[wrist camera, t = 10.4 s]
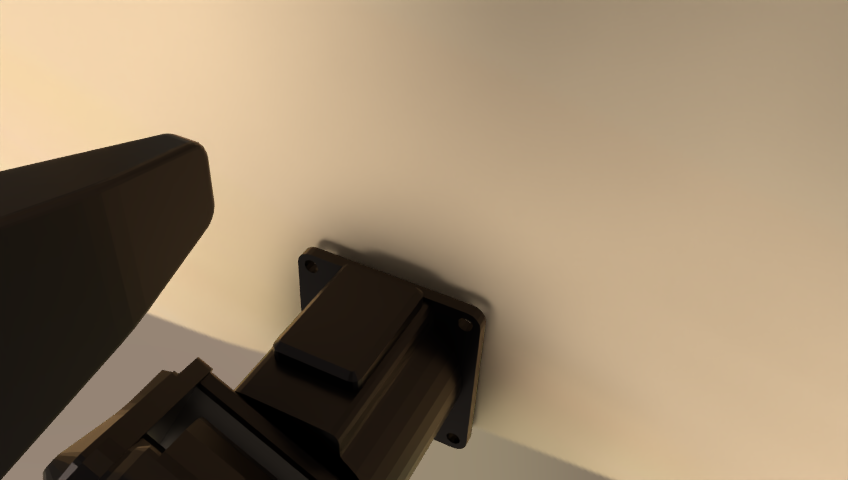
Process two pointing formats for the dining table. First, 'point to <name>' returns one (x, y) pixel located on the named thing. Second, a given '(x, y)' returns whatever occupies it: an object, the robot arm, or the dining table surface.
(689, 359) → the dining table surface
